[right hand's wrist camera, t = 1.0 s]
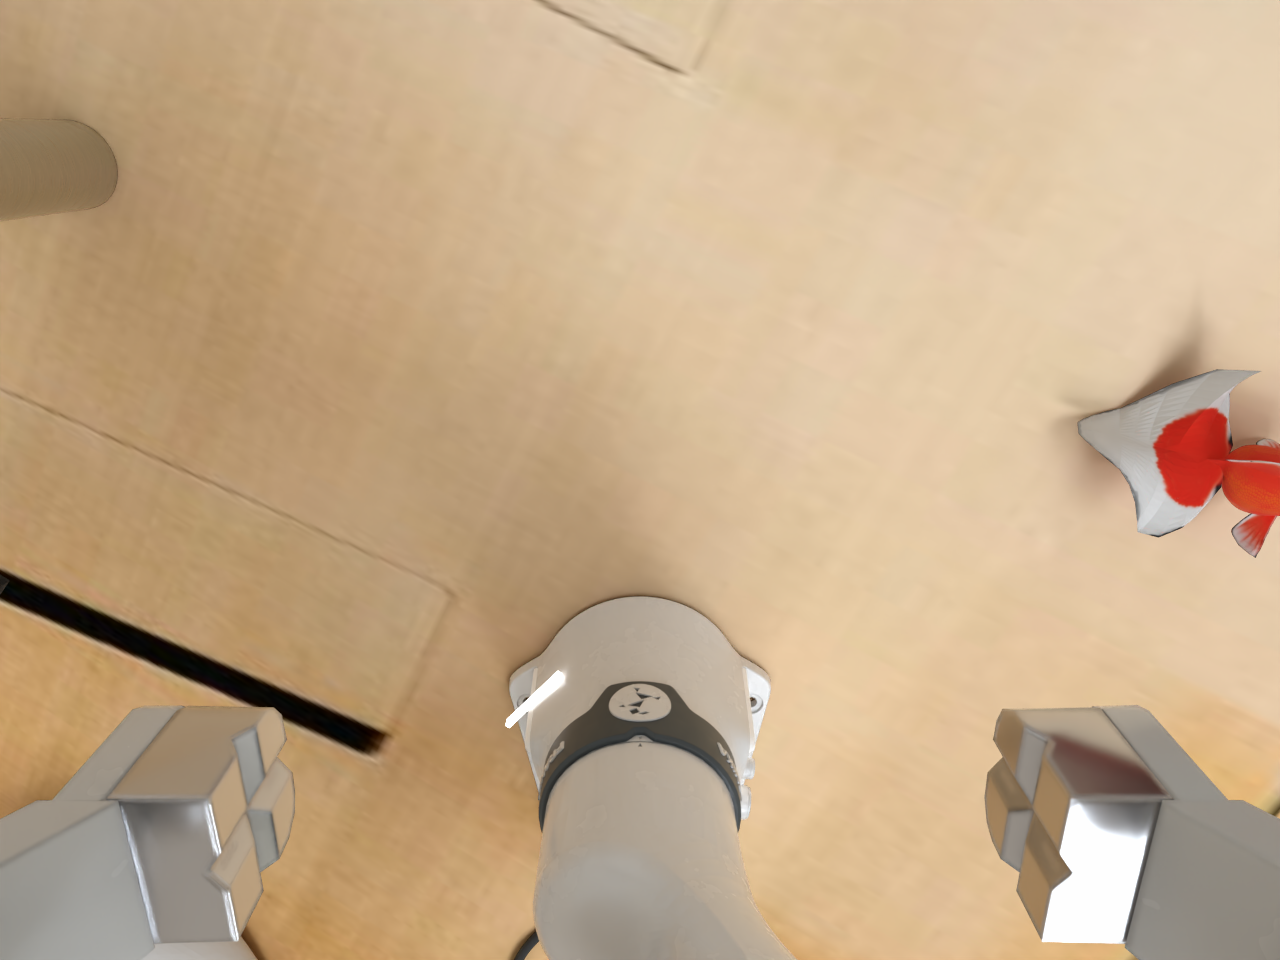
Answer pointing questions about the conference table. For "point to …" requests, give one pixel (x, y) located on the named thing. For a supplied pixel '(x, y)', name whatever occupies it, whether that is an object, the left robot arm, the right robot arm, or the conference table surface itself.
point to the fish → (1189, 457)
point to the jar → (52, 168)
